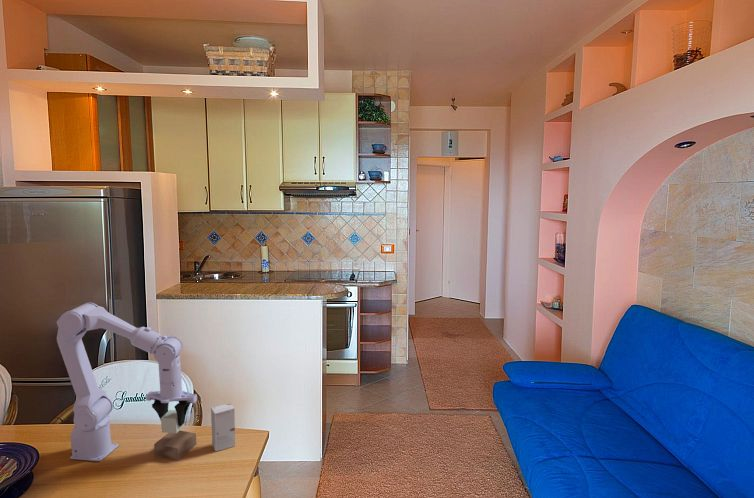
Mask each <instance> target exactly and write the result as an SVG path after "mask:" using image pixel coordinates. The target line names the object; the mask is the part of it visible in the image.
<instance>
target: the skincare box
mask: <svg viewBox="0 0 754 498" xmlns="http://www.w3.org/2000/svg"><path fill="white" fill-rule="evenodd" d="M210 414H211V415H210V418H211V419H210V420H211V421H210V422H211V445H212V448H213V449H214V451H215V452H219V451H222V450H226V449H230V448H234V447H235V446H236V426H235V425H236V423H235V422H236V417H235V407H234V406H233V404H232V403H231V402H229V403H225V404H221V405H217V406H211V407H210Z"/></svg>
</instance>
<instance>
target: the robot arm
mask: <svg viewBox="0 0 754 498" xmlns="http://www.w3.org/2000/svg"><path fill="white" fill-rule="evenodd" d="M56 325H57V328H58V329H57V334H56V343H57V345H58V348H59V351H60V354H61V356H62V360H63V362H64V365H65V368H66V371H67V374H68V377H69V379H70V383H71V385H72V388H73V391H74V393H75V397H76V399H75V402H74V404H73V407H72V411H73V424H74V427H73V428H72V430H71V432H70V445H71V454H72V455H71V456H70V457H69V459H71V460H81V461H92V462H101V461H103V460H104V459H105V458H106V457H107V456H108V455H109V454H110V453H112V452H113V451H114V450H116V448H117V447H119V443H112V435H111V434H112V433H111V426H110V425H111V424H110V423H111V422H110V413H111V412H112V411H113V408H114V403H113V401H112V399H111V398H110V397H109V396H108V394H107V392H106V390H104V389H100V388H99V387H98V383H97V379H96V377H95V374H94V372H93V369H92V365H91V363H90V360H89V357H88V353H87V351H86V348H85V345H84V342H83V339H82V338H83V337H85V334H86V333H87V332H88V331H93V330H98V329H102V330H103V329H104V330H106V331H109V332H110V333H114V334H116V335H119V336H121V337H123V338H126V339H128V340H129V341H130V344H131V345H132V346H134V347H136V348H138V349H140V350H142V351H144V352H146V353H149V354H151V355H153V357H154V360H155V361H156V362H157V363H158V376H159V390H156V391H153V390H152V391H149V392H148V393H146V394H145V396H146V397H145V398H146V401H147V402H150V401H154V402H153V403H152V404H151V407H152V409H153V410H154V411H155V412H156V414H157V416H158V417H159V420H160V421H161V417H162V416H164V415H165V414H166V413H167V412H168V411H169V403H170V402H178V403H176V404H175V405H174V410H176V412H177V417H178V425H179V426H182V425H183V424H184V423H185V424H186V416H187V412H188V409H189V407H190V405H191V404H195V403H196V402H198V394H197V393H196V394H195V393H191V392H187V391H186V390H185V391H184V390H183V386H182V385H183V384H182V383H183V382H182V366H181V364H182V363H181V352H182V350H183V343H182V341H181V340H180V339H179V338H177V337H176V336H173V335H171V336H167V335H165V334H164V335H162V334H161V333H159V332H157V331H154V330H152V327H150V326H147V327H145V326H140V327H136V326H134V325H132V324H130V323H129V322H127V321H125V320H123V319H121V318H120V317H118V316H116V315H114V314H112V313H110V312H108V311H107V310H106V308H105V307H103V306H100V305H98V304H96V303H94V302H86V303H83V304H81V305H80V306H77V307H75V308H73V309H71V310H67V311H66V312H63V314H61V316H59V318H58V319H57V320H56Z"/></svg>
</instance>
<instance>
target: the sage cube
mask: <svg viewBox="0 0 754 498" xmlns="http://www.w3.org/2000/svg"><path fill="white" fill-rule="evenodd" d="M160 425H161V433H163V434H164V433H166V434H168V433H177V432H178V431H179V430H180V431H181V430H182V429H183V428H184V427H185V425H186V422H185V423H184V424H183V425H182V426H179V425H178V417H177V412H176V410H175V409H168V412H167V413H166V414H165V415H164V416H162V417H161V420H160Z"/></svg>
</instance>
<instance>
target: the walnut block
mask: <svg viewBox="0 0 754 498" xmlns="http://www.w3.org/2000/svg"><path fill="white" fill-rule="evenodd" d="M153 445H154V447H153V448H154V456H155V457H160V458H165V459H170V460H175V461H179V460H181V459H182V458H183V457H184V456H185V455H187V454H188V453H189V452H190V451H191V450H192V449H194V448H195V446H197V434H196V433H195V432H190V431H186V430H181V429H180V430H179V431H178V432H177V433H166V434H165V435H164V436H163V437H161V438H160V439H158V440H157V441H156V442H155V443H154V444H153Z"/></svg>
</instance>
